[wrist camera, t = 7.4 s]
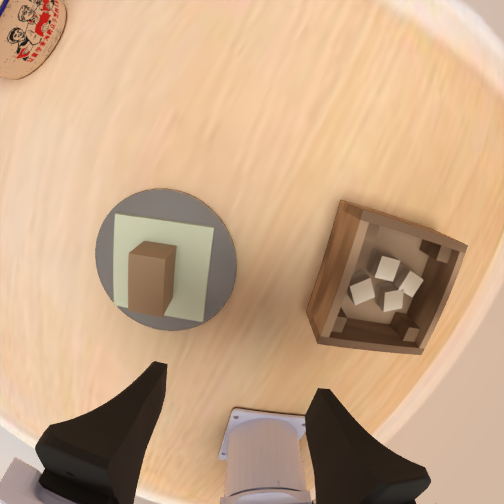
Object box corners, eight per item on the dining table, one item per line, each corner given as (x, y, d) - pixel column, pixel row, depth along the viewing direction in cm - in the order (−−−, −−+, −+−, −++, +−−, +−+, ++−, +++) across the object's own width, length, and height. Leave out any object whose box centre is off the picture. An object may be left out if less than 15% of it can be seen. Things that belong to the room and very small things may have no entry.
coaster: (220, 339, 24) (220, 343, 23) (96, 307, 23) (94, 310, 22) (251, 206, 21) (252, 207, 20) (106, 177, 20) (103, 178, 19)
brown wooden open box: (398, 327, 24) (421, 354, 20) (306, 311, 23) (317, 343, 19) (435, 230, 21) (467, 245, 17) (340, 199, 21) (363, 210, 16)
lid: (203, 318, 23) (196, 344, 19) (116, 301, 22) (98, 323, 19) (215, 226, 21) (208, 239, 17) (118, 212, 20) (95, 222, 17)
